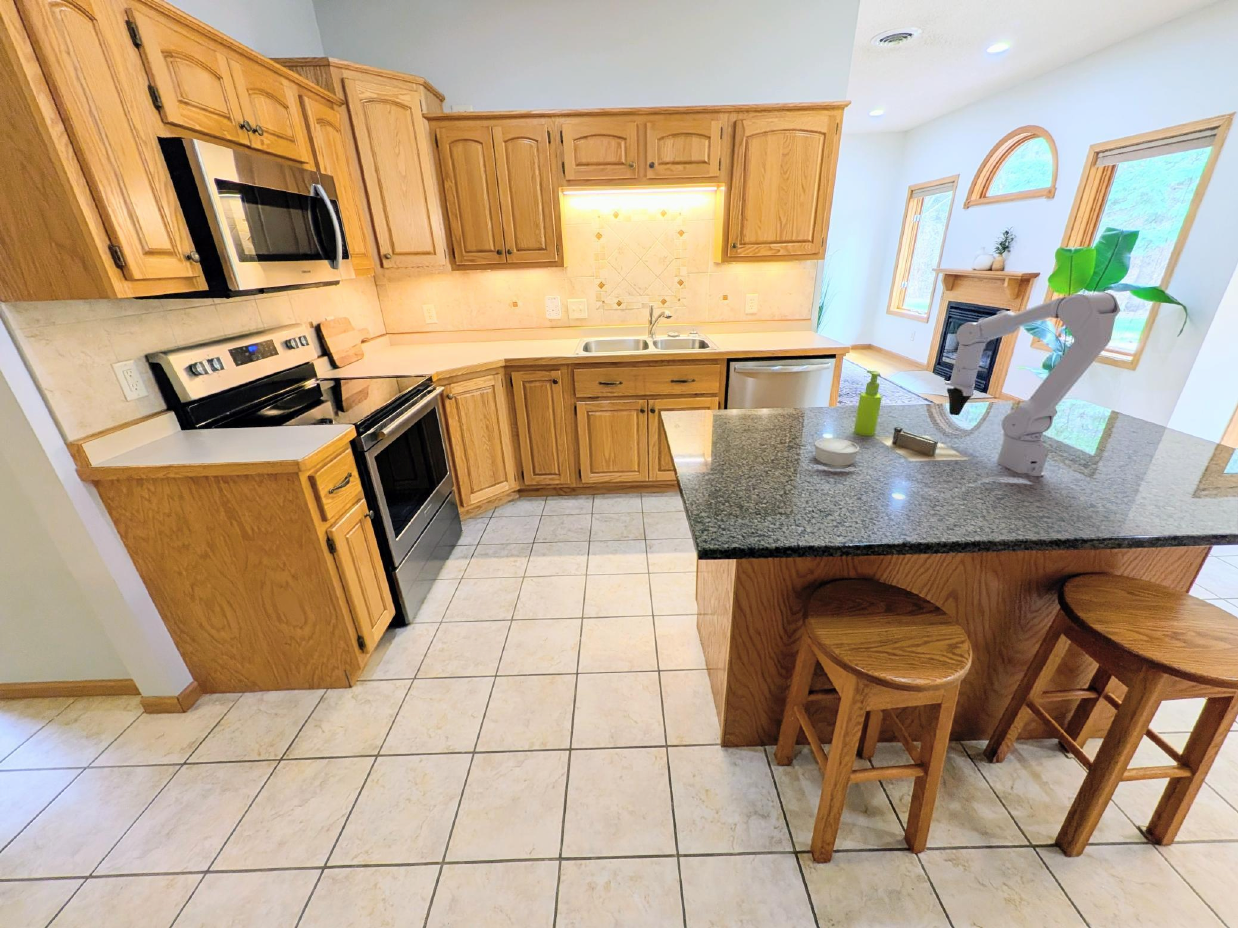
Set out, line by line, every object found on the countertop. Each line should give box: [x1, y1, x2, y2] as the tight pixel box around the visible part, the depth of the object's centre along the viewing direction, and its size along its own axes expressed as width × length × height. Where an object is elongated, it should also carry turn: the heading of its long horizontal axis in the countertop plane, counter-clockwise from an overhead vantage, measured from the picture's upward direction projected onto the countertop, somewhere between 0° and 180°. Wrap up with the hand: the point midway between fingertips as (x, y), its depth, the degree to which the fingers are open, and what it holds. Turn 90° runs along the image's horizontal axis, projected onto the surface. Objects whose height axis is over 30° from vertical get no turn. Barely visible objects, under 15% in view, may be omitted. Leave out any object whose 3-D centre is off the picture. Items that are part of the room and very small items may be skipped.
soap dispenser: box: [853, 370, 883, 436], centre depth 151 cm, size 6×7×20 cm
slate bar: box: [902, 430, 939, 455], centre depth 139 cm, size 10×1×4 cm, turn 25°
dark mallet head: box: [892, 426, 935, 457], centre depth 140 cm, size 12×2×5 cm, turn 27°
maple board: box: [874, 435, 970, 462], centre depth 142 cm, size 19×16×1 cm
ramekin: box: [813, 437, 860, 470], centre depth 135 cm, size 11×11×5 cm
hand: (954, 414), depth 143 cm, fingers closed
